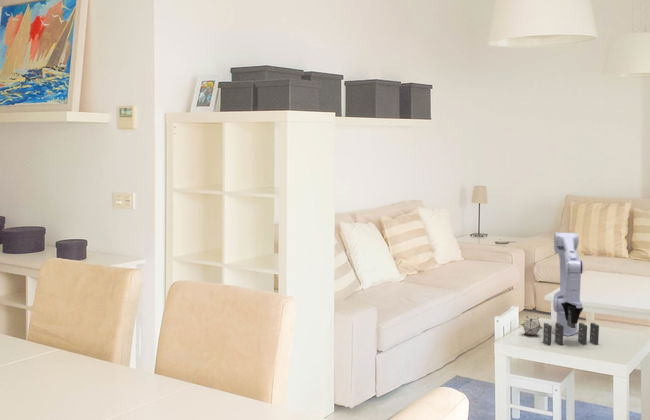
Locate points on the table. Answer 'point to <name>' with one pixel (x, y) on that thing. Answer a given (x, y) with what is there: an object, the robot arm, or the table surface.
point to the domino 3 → (570, 320)
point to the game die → (531, 326)
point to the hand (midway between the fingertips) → (571, 321)
